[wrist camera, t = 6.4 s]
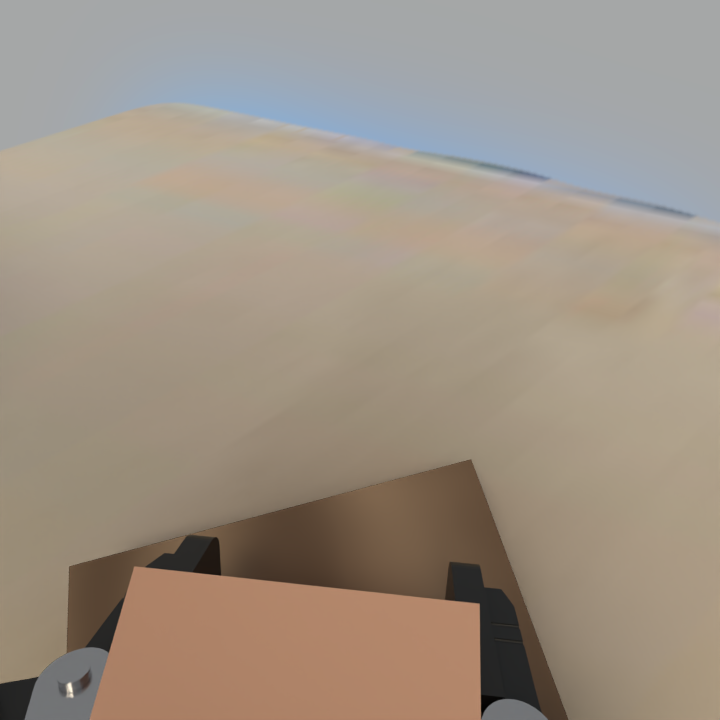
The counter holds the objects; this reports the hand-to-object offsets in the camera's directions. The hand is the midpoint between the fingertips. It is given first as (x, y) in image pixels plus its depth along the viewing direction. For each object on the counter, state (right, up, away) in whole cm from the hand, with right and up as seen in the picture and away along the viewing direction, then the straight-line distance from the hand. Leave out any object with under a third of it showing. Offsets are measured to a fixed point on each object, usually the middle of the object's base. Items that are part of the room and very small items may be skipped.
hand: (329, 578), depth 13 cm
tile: (0, -3, +2) cm, 4 cm away
